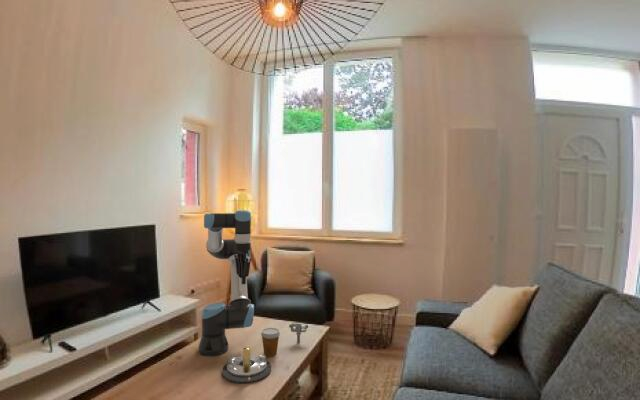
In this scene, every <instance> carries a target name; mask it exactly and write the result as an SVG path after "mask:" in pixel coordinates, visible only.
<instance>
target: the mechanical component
mask: <svg viewBox="0 0 640 400" xmlns="http://www.w3.org/2000/svg"><path fill="white" fill-rule="evenodd" d="M288 327H289V328H290V331H291V332H292V333H295V334H296V336H297V337H296V342H297V343H298V344H300V343H301V335H302V333H306V332H307V329H308V328H309V325H308V324H305V325H304V326H303V325H302V323H294V322H293V323H290V324H288Z"/></svg>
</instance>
